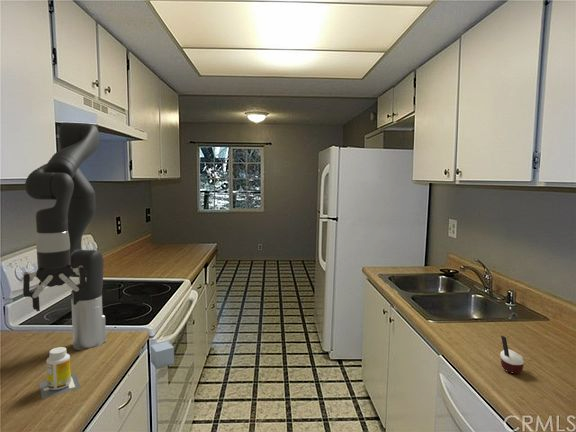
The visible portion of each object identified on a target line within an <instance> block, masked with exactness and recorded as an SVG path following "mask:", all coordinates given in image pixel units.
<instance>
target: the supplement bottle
mask: <svg viewBox="0 0 576 432" xmlns="http://www.w3.org/2000/svg"><path fill="white" fill-rule="evenodd" d="M67 352H68V351H67V348H66V347H65V346H58V347H55V348H52V349H51V350H49V353H48V354H49V357H47V359H46V360H45V361H46V364H45V365H46V378H47V380H46V381H47V383H48V388H49V389H51V390H59V389H63V388H65V387H67V386H68V385H69V384H70V383H71V375H72V373H71V355H70V354H69V353H67Z"/></svg>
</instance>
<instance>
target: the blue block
mask: <svg viewBox="0 0 576 432" xmlns="http://www.w3.org/2000/svg"><path fill="white" fill-rule="evenodd" d="M150 363H151V364H152V365H153V366H154V367H155V369H156V370H157V369H160V368H164V367H167V366H172V365H174V364H175V347H174V346H173V345H172V344H171V343H170V341H168V340H166V341H162V342H159V343H155V344H151V345H150Z"/></svg>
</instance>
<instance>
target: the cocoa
mask: <svg viewBox="0 0 576 432" xmlns="http://www.w3.org/2000/svg"><path fill="white" fill-rule="evenodd" d="M501 342H502V347H503V350H501V351H500V362H501V367H503V368H504V369H505V370H507V371H509V372H513V373H518V374H519V373H522V372H523V368H524V363H525V360H524V357H523V355H521V354H519V353H517V352H516V351H514V350H512V349H509V347H508V342H507V338H506V336H503V335H501ZM503 368H502V369H503ZM504 369H503V370H504ZM505 370H504V371H505Z"/></svg>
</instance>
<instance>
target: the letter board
mask: <svg viewBox="0 0 576 432" xmlns="http://www.w3.org/2000/svg"><path fill="white" fill-rule="evenodd" d="M38 384H39V391H40V395H41V399H43V400H44V399H46V398H50V397H53V396H54V397H55V396H57V395H61V394H64V393H68V392H71V391H72V392H73V391H75V390H78V389H81V388H82V387H81V384H80V381H79V379H78V376H77V374H76V373H71V383H70V384H69V385H68V386H67V387H65V388H63V389H59V390H51V389H49V388H48V383H47V380H46V381H42V382H39V383H38Z"/></svg>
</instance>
